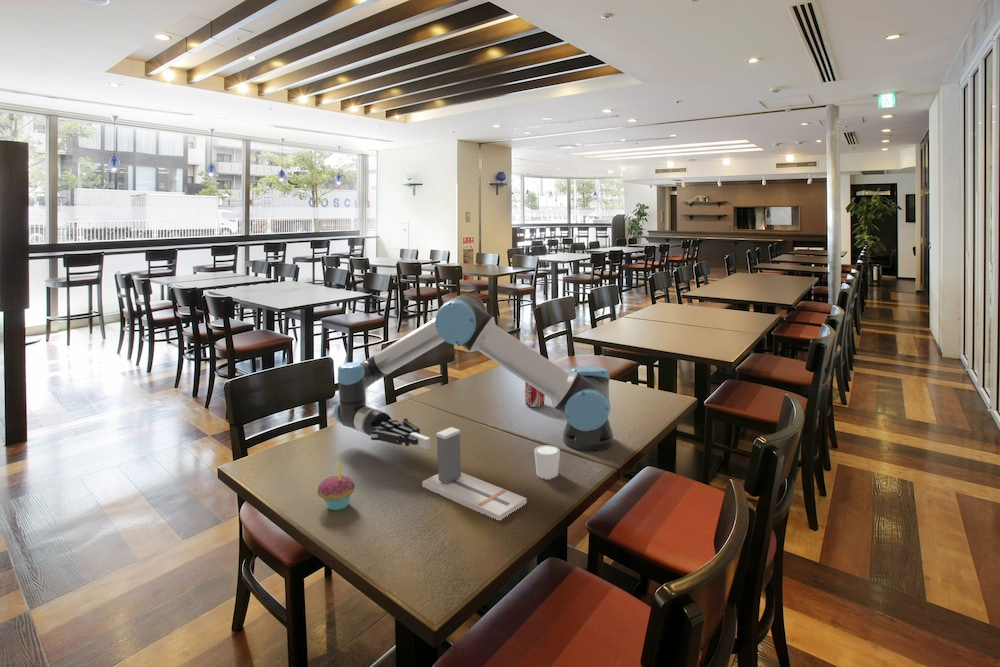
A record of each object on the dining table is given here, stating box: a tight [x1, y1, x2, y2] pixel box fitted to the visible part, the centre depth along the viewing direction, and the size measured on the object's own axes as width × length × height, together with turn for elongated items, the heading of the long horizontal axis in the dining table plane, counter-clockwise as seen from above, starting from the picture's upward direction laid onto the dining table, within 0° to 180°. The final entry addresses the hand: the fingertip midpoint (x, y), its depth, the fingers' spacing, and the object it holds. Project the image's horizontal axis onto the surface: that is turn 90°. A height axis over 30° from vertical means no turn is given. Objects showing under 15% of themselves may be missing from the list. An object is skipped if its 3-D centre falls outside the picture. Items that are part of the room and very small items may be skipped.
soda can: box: [524, 381, 546, 408], centre depth 198 cm, size 7×7×12 cm
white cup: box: [534, 444, 561, 480], centre depth 145 cm, size 7×7×7 cm
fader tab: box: [435, 426, 462, 484], centre depth 139 cm, size 3×5×13 cm, turn 140°
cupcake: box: [316, 459, 356, 511], centre depth 130 cm, size 9×8×12 cm
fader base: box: [421, 471, 528, 522], centre depth 135 cm, size 26×10×2 cm, turn 50°
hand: (428, 443), depth 143 cm, fingers closed
